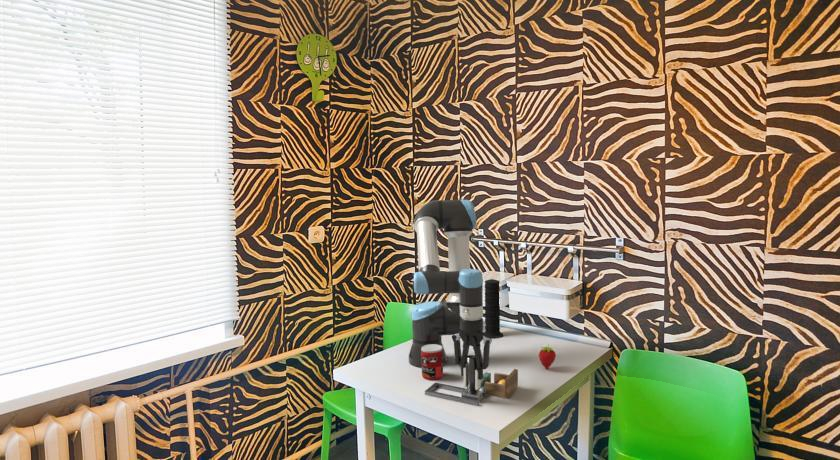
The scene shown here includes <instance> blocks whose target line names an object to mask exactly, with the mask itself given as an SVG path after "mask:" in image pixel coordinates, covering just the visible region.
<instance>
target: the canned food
mask: <svg viewBox="0 0 840 460" xmlns="http://www.w3.org/2000/svg"><path fill="white" fill-rule="evenodd" d="M421 360H422V367H421V376H422V379H424V380H427V381H437V380H440V379H442V378H443V376H444V364H443V348H442V346H440V345H437V344H429V345H425V346H423V347H422V348H421Z"/></svg>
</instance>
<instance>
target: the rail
mask: <svg viewBox="0 0 840 460" xmlns="http://www.w3.org/2000/svg"><path fill="white" fill-rule="evenodd" d="M466 388H467V387H466ZM466 388H465V387H460V386H455V385H449V384H445V383H440V382H434V383H433V384H431V386H429V387H428V388H427V389H425V390H424V395H425V396H430V397H435V398H439V399H444V400H449V401H453V402H458V403H461V404H462V403H464V404H466V405H471V406H476V407H478V406H479V405H480V401H477V400H473V399H468V398H463V397H461V396H457V395H453V394H447V393H443V392H439V391H435V390H436V389H443V390H447V391H451V392H458V393H460V394H461V393H462V392H463V391H464V390H465V389H466ZM487 396H488V395H487V393H486V392H485V391H483V398H486V397H487Z"/></svg>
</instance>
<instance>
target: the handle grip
mask: <svg viewBox="0 0 840 460" xmlns="http://www.w3.org/2000/svg"><path fill="white" fill-rule="evenodd" d="M499 285H500V280H498V279H493V278H491V279H486V280H484V309H485V310H484V312H485V313H484V322H485V323H484V325H485V326H484V327H485V328H484V331H483V333H484V336H485V337H486V338H488V339H489V338H491V339H500V338H503V337H504V334H503V332H501V331H500V330H501V327H500V326H501V324H500V323H501V320H500V318H501V317H500V315H501V313H500V312H501V310H500V308H501V307H500V305H501V303H500V304H499V299H500V298H501V297H499V292H501V290H500V288H499Z"/></svg>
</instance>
